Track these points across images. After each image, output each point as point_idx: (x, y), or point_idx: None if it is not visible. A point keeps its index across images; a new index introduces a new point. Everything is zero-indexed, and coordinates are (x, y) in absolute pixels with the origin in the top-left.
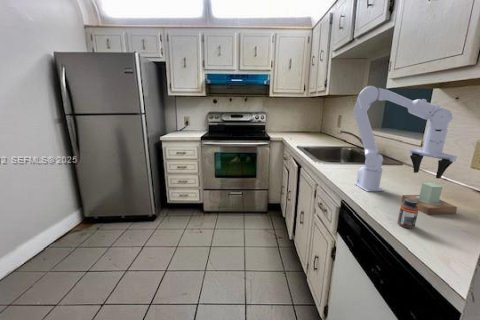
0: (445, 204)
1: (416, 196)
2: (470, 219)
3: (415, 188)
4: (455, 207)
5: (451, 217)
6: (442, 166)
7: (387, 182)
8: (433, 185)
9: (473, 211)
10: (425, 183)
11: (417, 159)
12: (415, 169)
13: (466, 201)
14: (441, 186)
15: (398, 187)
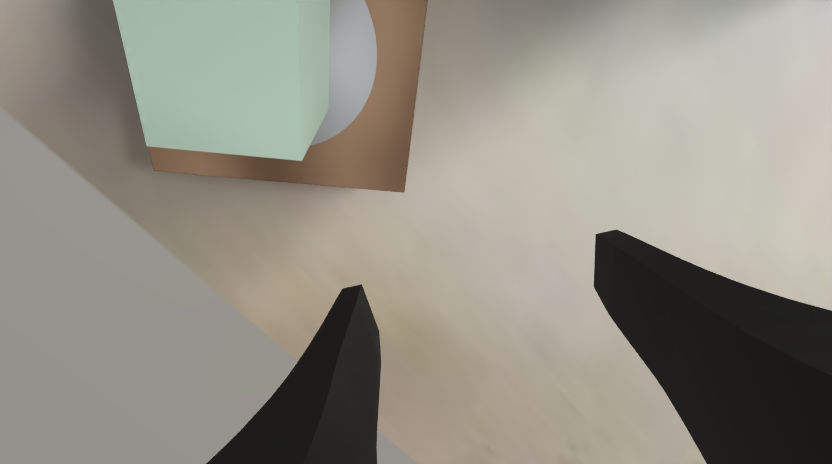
0: None
1: (385, 34)
2: (93, 160)
3: (581, 289)
4: (151, 155)
5: (102, 50)
6: (243, 438)
7: (753, 204)
8: (189, 66)
9: (224, 289)
10: (281, 33)
11: (769, 399)
12: (626, 252)
13: None
14: (159, 144)
15: (649, 195)
